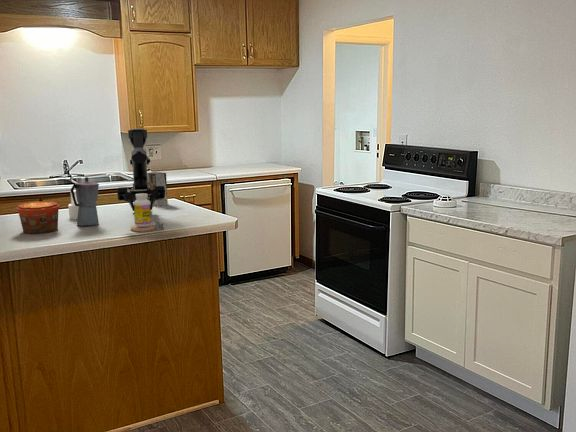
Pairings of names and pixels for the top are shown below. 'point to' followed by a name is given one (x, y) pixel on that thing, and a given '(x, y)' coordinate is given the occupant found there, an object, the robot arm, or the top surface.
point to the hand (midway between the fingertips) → (142, 209)
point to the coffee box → (158, 180)
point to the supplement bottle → (142, 210)
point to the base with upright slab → (73, 207)
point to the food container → (39, 217)
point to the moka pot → (86, 202)
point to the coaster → (143, 228)
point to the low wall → (159, 224)
